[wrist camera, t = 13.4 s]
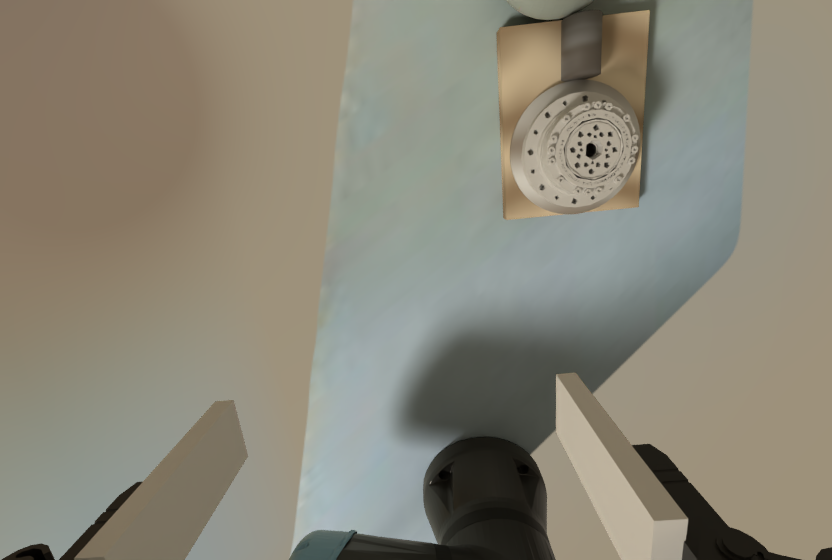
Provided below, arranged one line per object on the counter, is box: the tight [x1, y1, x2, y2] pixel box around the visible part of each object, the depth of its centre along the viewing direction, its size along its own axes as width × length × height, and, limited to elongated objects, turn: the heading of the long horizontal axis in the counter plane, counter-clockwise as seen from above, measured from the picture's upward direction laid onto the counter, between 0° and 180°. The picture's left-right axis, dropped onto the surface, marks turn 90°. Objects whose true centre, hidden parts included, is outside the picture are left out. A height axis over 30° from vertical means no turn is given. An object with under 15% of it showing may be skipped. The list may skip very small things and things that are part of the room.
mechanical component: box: [521, 91, 638, 207], centre depth 34 cm, size 10×4×10 cm
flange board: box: [497, 10, 650, 220], centre depth 35 cm, size 17×13×5 cm
